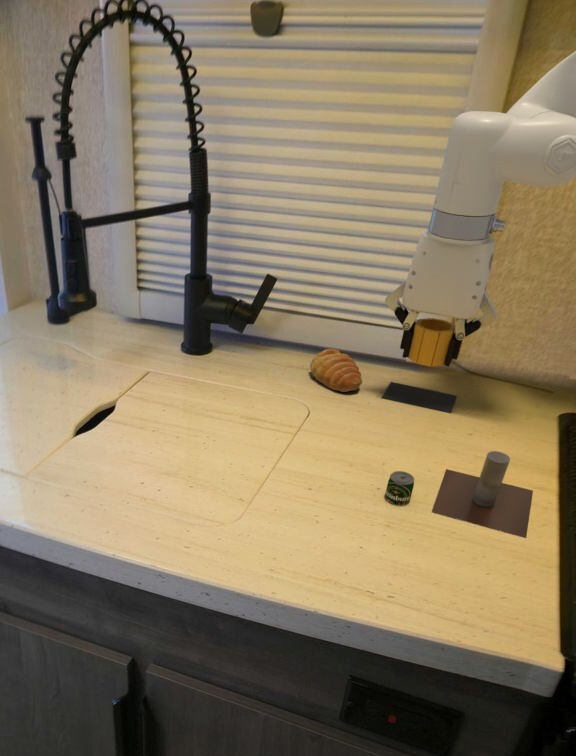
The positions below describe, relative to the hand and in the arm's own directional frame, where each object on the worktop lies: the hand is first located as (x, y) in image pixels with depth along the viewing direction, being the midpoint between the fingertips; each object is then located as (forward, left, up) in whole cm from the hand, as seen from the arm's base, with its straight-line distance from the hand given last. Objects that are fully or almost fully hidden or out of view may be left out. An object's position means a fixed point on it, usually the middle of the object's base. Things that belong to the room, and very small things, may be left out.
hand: (427, 357), depth 95 cm
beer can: (-3, +29, -7) cm, 30 cm away
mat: (0, 0, -7) cm, 7 cm away
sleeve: (0, 0, 0) cm, 0 cm away
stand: (-12, +25, -7) cm, 29 cm away
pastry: (+13, -1, -7) cm, 15 cm away
